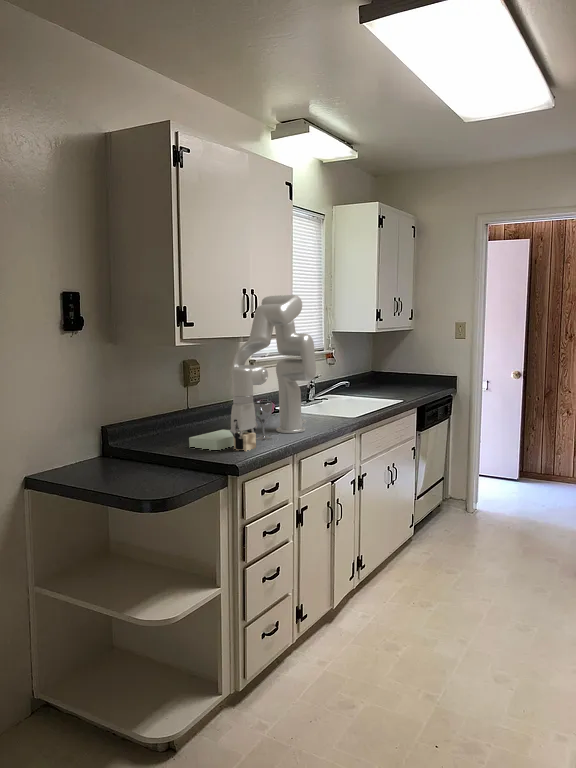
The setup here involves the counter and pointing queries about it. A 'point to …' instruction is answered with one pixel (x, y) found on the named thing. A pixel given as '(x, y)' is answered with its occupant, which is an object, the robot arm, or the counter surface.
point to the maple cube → (247, 441)
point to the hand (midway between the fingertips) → (244, 446)
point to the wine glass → (263, 415)
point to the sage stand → (213, 440)
